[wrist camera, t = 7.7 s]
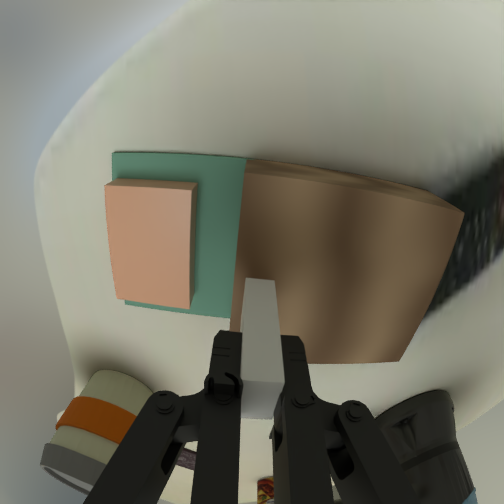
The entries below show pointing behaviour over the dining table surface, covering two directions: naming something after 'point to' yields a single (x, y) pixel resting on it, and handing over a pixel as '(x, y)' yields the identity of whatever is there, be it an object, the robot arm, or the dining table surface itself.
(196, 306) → the mat
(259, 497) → the canned food
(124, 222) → the peach box
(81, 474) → the reusable coffee cup
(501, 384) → the dining table surface
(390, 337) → the brown wooden block
